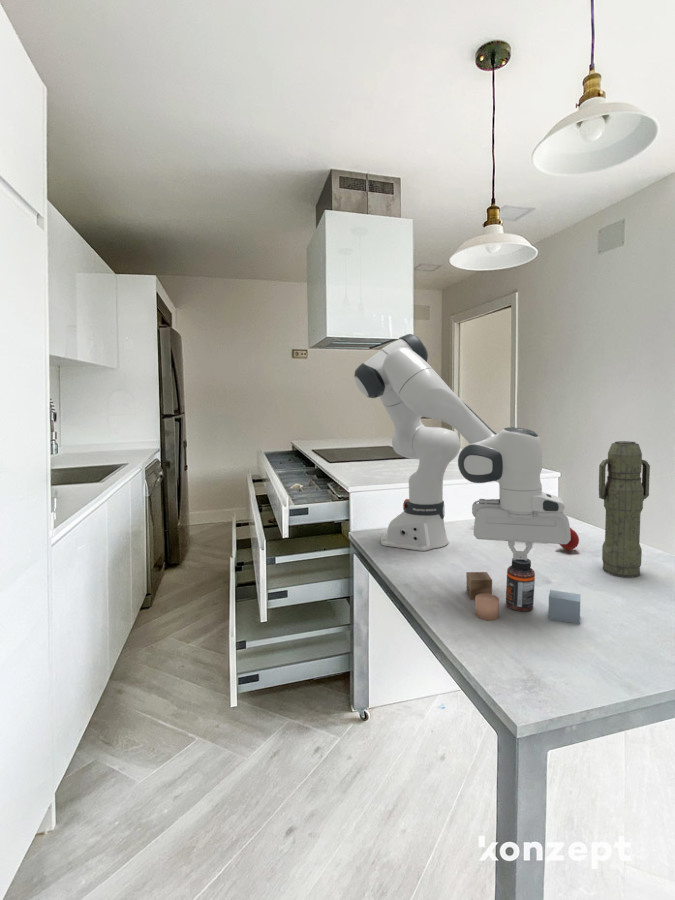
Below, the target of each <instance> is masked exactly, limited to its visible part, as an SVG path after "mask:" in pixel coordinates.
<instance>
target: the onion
mask: <svg viewBox="0 0 675 900" xmlns="http://www.w3.org/2000/svg"><path fill="white" fill-rule="evenodd" d="M570 534H571V540H570V541H569V543H567V544H559V546H560V547H561V548H563V550H565V551H566V552H571V551H572V550H574V549H576V548H577V547H578V545H579V544H580V538H579V535H578V534H577V532H576V531H575V530H573V529H572V528H571V527H570Z"/></svg>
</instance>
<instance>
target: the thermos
mask: <svg viewBox="0 0 675 900" xmlns="http://www.w3.org/2000/svg"><path fill="white" fill-rule="evenodd" d="M606 467H607V470H606ZM650 470H651V465H650V463H649V462H648V460H644V459H643V453H642V450H641V446H640V444H639V443H637V442H636V441H625V440H624V441H623V440H622V441H618V440H617V441H614V442H612V443H611V444H610V447H609V449H608V452H607V458H605V459H603V460H602V461H601V463H599V467H598V476H599V477H598V498H599V499H601V500H603V507H604V509H605V525H604V526H605V527H604V530H605V531H604V542H603V543H602V547H601V548H602V549H601V551H602V552H601V561H602V570H603V572H604V573H607V574H608V575H611V576H615V577H620V578H628V579H629V578H636V577H639V576H640V575H641V566H642V551H643V549H642V546H641V544H640V539H641V538H640V537H641V536H640V535H641V532H640V531H641V513H642V511H643V509H644V501H645V499H647V498H648V497H649V496H650V474H651V473H650V472H651V471H650ZM606 471H607V473H608V474H607V476H606Z"/></svg>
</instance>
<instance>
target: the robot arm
mask: <svg viewBox="0 0 675 900" xmlns="http://www.w3.org/2000/svg"><path fill="white" fill-rule="evenodd" d="M428 357H429V353H428V351H427V348H426V345H425V344H424V342H423V341H422V340H421V338H419V337H418V336H417V335H416V334H412V333H408V334H405V335H403V336H400V337H399V338H398V339H397V340H395V341H393V342H391V343H389V344H387V345H386V346H384V347H382V348H381V349H379V351H378V352H376V353H375V354H374V355H372V356H371V357H369V358H368V359H367V360H366V361H365V362H364V363H361V364H360V365H359V366H358V367H357V368H356V369H355V371H354V374H353V377H354V381H355V384H356V386H357V388H358V390H359V391H360V392H361V393H362V394H363V395H365V396H366V397H367V398H371V399H377V398H379V399H380V401H381V404H382V405H383V406H384V408H385V410H386V412H387V414H388V416H389V417H390V419H391V421H392V423H393V427H394V433H393V435H392V439H391V445H392V449H393V451H394V452H395V453H396V454H397V455H399V456H402V457H404V458H407V459H411V460H412V459H413V460H418V461H419V462H418V466H417V470H416V471H415V472H413V473H412V474H411V475H410V476H409V478H408V498H405V500H403V504H402V508H403V511H402V512H401V513H400V514H398V515H397V516H396V517H394V518H393V519H392V520H391V521H390V522H389V523H388V526H387V531H386V532H385V533H384V534H383V535H382V536H381V538H380V544H381V545H382V546H386V547H392V548H398V549H399V548H400V549H407V550H413V551H414V550H415V551H421V552H427V551H429V550H432V549H438V548H443V547H444V546H446V545H448V544H449V539H448V537H447V532H446V527H445V516H446V515H445V514H446V513H445V500H444V497H443V494H444V493H443V492H444V491H443V488H444V486H443V485H444V477H445V473H446V469H447V467H448V466H449V464H450V463H451V462H452V461H453V460H454V459H455V458H456V457H458V459H457V466H458V470H459V472H460V474H461V476H462V477H463V478H464V479H465V480H467V481H468V482H470V483H474V484H485V483H491V482H497V483H498V485H499V489H498V490H499V491H498V493H499V495H498V497H499V498H498V499H497V498H490V499H489V498H488V499H486V498H479V499H478V500H476V501H474V502H473V503H472V505H471V514H472V516H473V517H474V525H473V536H474V538H476V539H477V540H483V541H484V540H487V541H488V540H489V541H500V542H501V541H503V542H507V545H508V548H509V549H510V551H511V552H512V558H513V560H520V561H527V558H528V554H529V553H530V551H531V550H532V548H533V543H536V544H537V543H538V544H552V545H553V544H554V545H555V544H556V545H560V544H567V543H569V541H570V540H571V534H570V528H571V527H570V521H569V518H568V515H567V513H566V512H565V508H564V507H565V503H564V501H563V500H562V498H561V497H559V496H557V495H554V494H549V493H547V492H543V485H542V483H541V473H542V469H543V458H542V457H543V456H542V455H543V454H542V444H541V439H540V436H539V435H538V433H536V432H535V431H534V430H531V429H528V428H525V427H523V428H522V427H511V426H509V427H504V428H503V429H502V430H500V431H499V432H498V433H497V432H495V431H494V430H493V429H491V427H490V426H489V425H487V423H486V422H485V421H484V420H483V419H482V418H481V417H480V416H479V415H477V413H476V412H475V411H474V410H473V409H471V407H469V406H468V405H467V404H466V403H465V402H464V401H463V400H462V399H461V398H460V397H459V396H458V395H457V393H455V392H454V391H453V390H452V389H451V387H450V386H449V385H447V383H446V381H444V379H442V377H441V376H440V375H439V374H438V373H437V372H436V371H435V370H434V368H433V367H432V366H431V365H430V364H429V363H428ZM423 417H424V418H428V419H433V420H437V421H440V422H443V423H445V424H447V425H449V426H451V427H452V428H454V429H455V430H456V431H457V432H458V433H459V434H460V436H462V437H463V438H464V439H465V440H466V441H467V442H468V443H469V444H467V445H466V446H465V447H464V448H462V449H461V440H460V437H459V435H458V434H457V432H456V431H454V430H451V429H449V428H445V427H438V426H437V427H436V426H435V427H434V426H425V425H424V423H423V422H422V420H421V419H422V418H423ZM460 449H461V451H460ZM516 542H518V543H525V548H524V549H523V550H516V548H515V546H516V545H515V543H516Z"/></svg>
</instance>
